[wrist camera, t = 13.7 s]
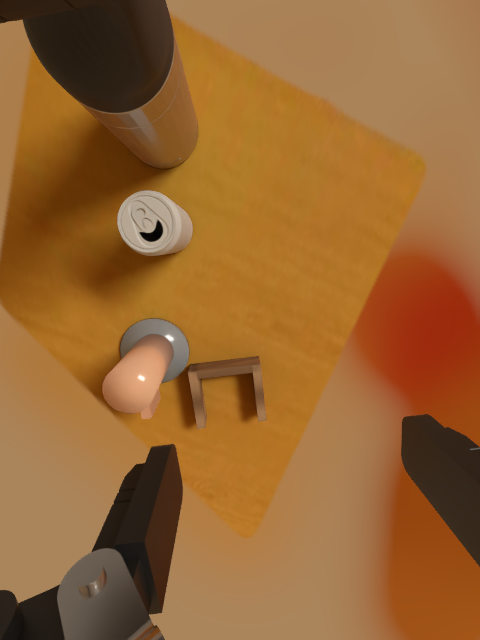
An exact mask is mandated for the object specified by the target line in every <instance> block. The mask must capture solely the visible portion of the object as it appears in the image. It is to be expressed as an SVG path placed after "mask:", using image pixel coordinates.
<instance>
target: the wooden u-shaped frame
mask: <svg viewBox="0 0 480 640" xmlns="http://www.w3.org/2000/svg"><path fill="white" fill-rule="evenodd" d="M245 373H252V374H253V383H254V392H255V401H256V410H257V416H258V422H259V421H266V413H265V403H264V393H263V384H262V374H261V364H260V360H259V356H256V357H248V358H239V359H231V360H223V361H214V362H206V363H197V364H190V367H189V371H188V376H189V382H190V388H191V394H192V400H193V406H194V412H195V418H196V424H197V429H201V428H205V427H206V419H207V415H206V409H205V402H204V396H203V390H202V383H201V379H203V378H212V377H220V376H229V375H237V374H245Z"/></svg>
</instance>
